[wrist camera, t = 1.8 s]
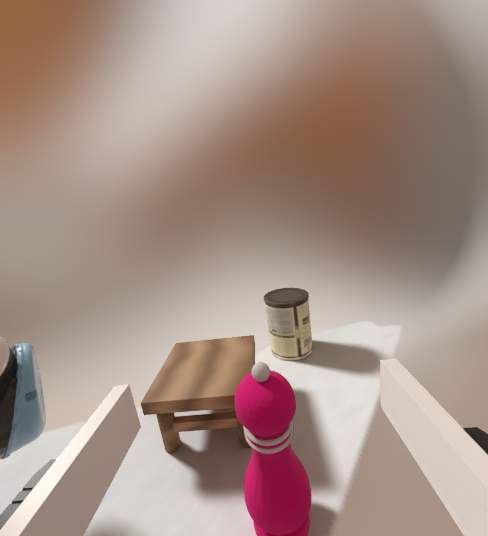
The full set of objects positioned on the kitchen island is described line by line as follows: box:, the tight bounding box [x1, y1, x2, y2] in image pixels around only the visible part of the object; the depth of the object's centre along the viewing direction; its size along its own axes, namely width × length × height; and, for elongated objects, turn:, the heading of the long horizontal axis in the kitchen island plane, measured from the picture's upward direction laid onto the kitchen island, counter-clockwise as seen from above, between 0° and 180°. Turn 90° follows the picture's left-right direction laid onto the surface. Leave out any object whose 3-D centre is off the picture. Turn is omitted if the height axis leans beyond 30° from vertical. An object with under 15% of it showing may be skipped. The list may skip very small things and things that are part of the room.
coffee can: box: [264, 288, 313, 361], centre depth 59 cm, size 10×10×14 cm
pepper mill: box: [235, 362, 311, 536], centre depth 26 cm, size 7×7×20 cm
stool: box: [141, 336, 255, 453], centre depth 43 cm, size 16×16×10 cm
